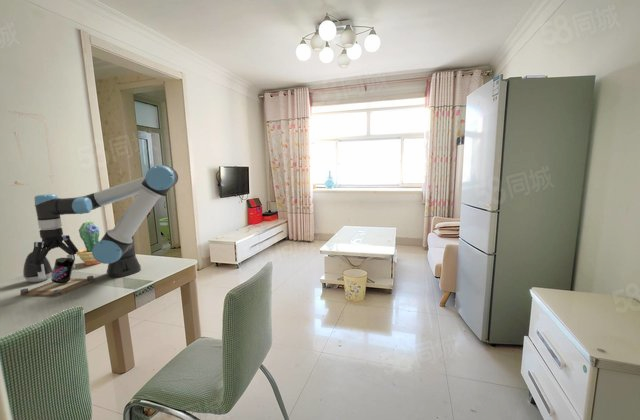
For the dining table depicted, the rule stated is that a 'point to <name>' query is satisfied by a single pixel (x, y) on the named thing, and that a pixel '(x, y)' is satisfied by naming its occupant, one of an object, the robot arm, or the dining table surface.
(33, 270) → the black egg-shaped dome
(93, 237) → the potted cactus
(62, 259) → the supplement container
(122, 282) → the dining table surface
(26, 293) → the wooden tray
